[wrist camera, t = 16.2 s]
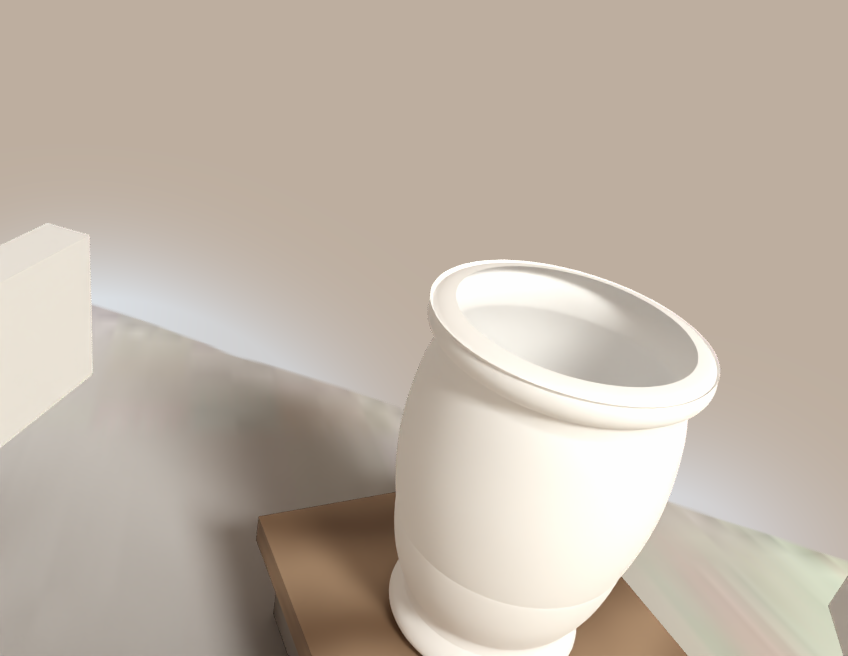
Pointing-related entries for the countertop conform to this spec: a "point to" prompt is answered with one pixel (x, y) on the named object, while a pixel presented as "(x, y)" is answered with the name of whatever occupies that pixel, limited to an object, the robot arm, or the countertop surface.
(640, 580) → the countertop surface
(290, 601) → the stand
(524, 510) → the jar
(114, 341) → the countertop surface
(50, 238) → the robot arm
